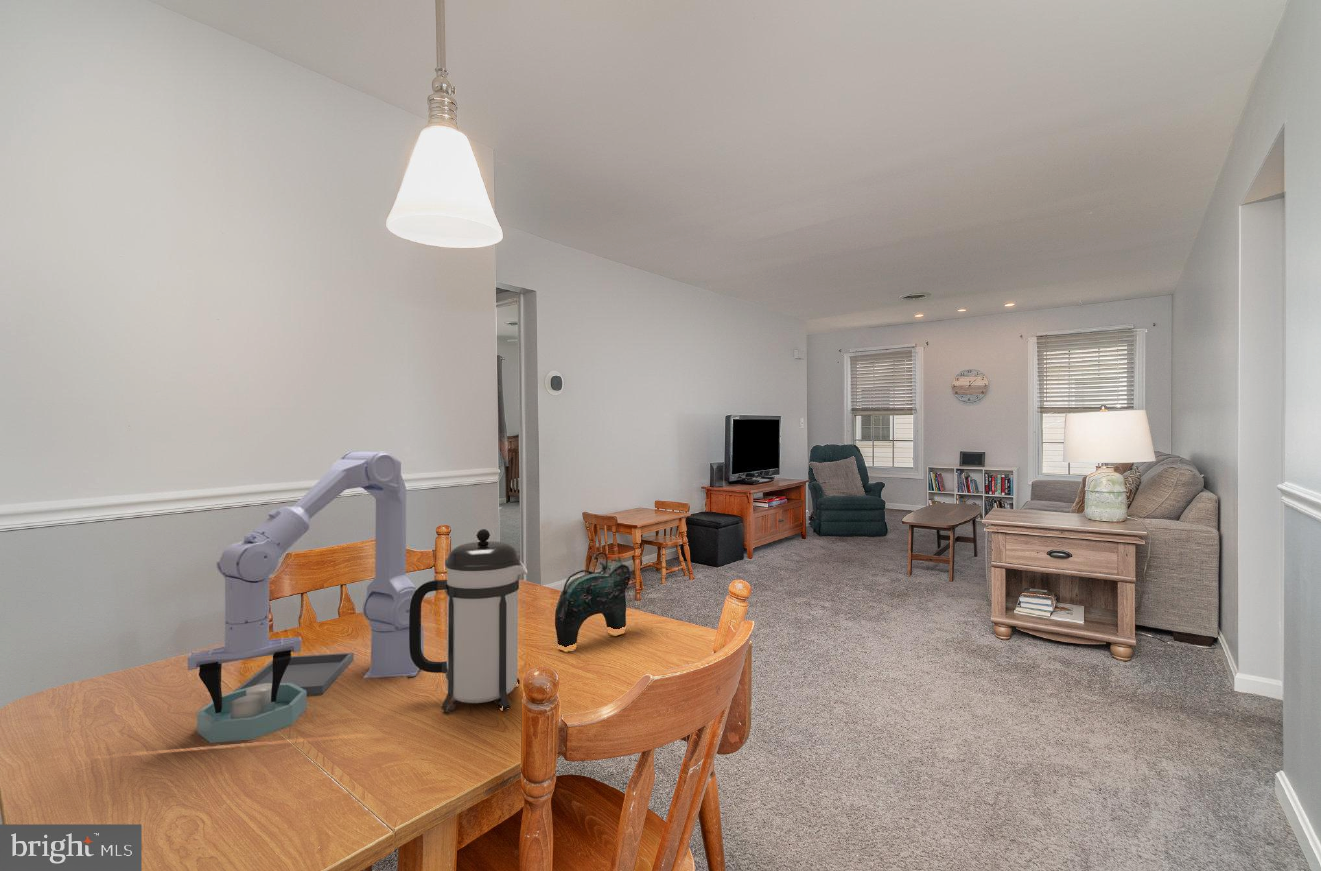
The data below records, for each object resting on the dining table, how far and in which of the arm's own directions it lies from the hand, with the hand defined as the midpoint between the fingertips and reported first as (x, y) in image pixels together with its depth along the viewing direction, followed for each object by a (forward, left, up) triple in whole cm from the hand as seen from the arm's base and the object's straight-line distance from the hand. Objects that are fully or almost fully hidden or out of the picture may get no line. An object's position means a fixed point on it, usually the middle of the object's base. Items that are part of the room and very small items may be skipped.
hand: (246, 705), depth 92 cm
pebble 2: (0, -5, -3) cm, 6 cm away
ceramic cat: (-57, -31, -4) cm, 65 cm away
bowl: (0, -2, -4) cm, 5 cm away
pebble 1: (0, 0, -3) cm, 3 cm away
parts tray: (0, -19, -4) cm, 19 cm away
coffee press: (-34, -5, -4) cm, 35 cm away
